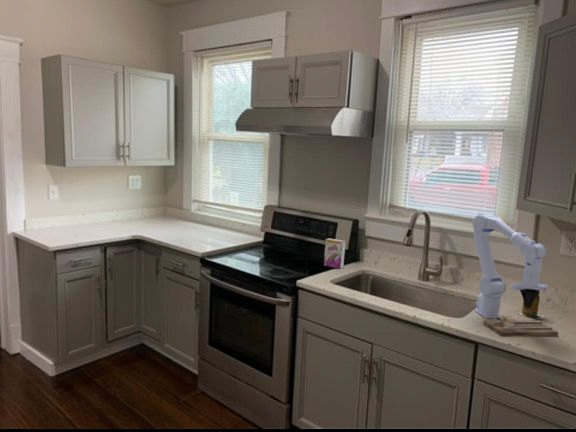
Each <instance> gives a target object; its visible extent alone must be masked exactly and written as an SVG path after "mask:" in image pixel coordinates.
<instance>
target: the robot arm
mask: <svg viewBox="0 0 576 432" xmlns="http://www.w3.org/2000/svg"><path fill="white" fill-rule="evenodd" d="M471 224H472V226H473V239H474V243H475V248H476V251H477V255H478V259H479V263H480V267H481V273H482V275H481V276H480V277H479V284H480V285H479V291H480V292H481V293H480V294H479V295H478V296H477V303H476V309H474V311H475V312H476V313H478V314H479V315H481V316H482V317H483V318H486V319H501V315H502V314H500V311H501V310H500V309H501V300H502V297H503V294H505V292H506V291H507V284H506V283H505V281H504V280H503V276H502V275H501V274H499V273H498V272H497V269H496V264H495V259H494V258H493V254H492V253H493V252H492V249H491V246H490V245H491V244H490V241H489V236H490V235H491V234H492V233H493V232H494V231H495V230H497V231H498V232H499V233H501V234H503V235H504V236H505V237H507V238H509V239H510V243H511V244H512V245H513V246H514V247H516V249H518V250H520V251H521V252H522V253H523V256H524V267H523V275H522V276H523V277H522V282H520V283H512V284H511V288H510V289H512V290H514V291H517V290H519V292H520V294H521V297H522V299H523V301H524V307H526V308H531V306H532V304H533V302H534V300H535V298H536V297H537V296H538V295H539V296H540V292H539V291H546V292H547V291H549V287H550V286H549V285H548V284H543V283H540V279H541V273H542V271H541V270H542V264H543V259H544V258H545V257H546V256H547V254H548V251H547V248H546V246H544V244H543V243H536V240H534V239H533V240H532V239H531V238H529V237H528V236H527V234H526V233H525V232H517V231H515V229H513V228H512V227H510V226H509V225H508V224H507V223H505V221H503V220H502V218H501V217H499V216H498V215H497V214H495V213H494V214H477V215H476V216H475V217H474V218H473V220H472V221H471ZM537 290H539V291H537Z"/></svg>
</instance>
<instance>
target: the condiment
mask: <svg viewBox="0 0 576 432" xmlns="http://www.w3.org/2000/svg"><path fill="white" fill-rule="evenodd" d="M537 291H539V293H540V291H541V290H537ZM539 303H540V294H539V295H538V296H537V297H536V298H535V300H534V302H533V304H532V306H531V308H526V307H524V301H523V302H522V306H521V307H522V308H521V312H520V313H519V315H520V316H523V317H527V318H532V319H535V320H542V319H543V318H544V317H545V315H542V314H538V312H539V305H540V304H539Z"/></svg>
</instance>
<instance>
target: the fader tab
mask: <svg viewBox="0 0 576 432" xmlns="http://www.w3.org/2000/svg"><path fill="white" fill-rule="evenodd" d="M500 315H501V318H500V320H499V321H500V324H501V325H503V326H504V327H514V323H515V321H516V319H515V318H514V317H512V316H510V315H509V314H500Z"/></svg>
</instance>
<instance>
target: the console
mask: <svg viewBox="0 0 576 432" xmlns="http://www.w3.org/2000/svg"><path fill="white" fill-rule="evenodd" d="M483 325H484V326H486V327H487V328H489V329H490V330H491V331H493V332H494V333H496V334H497V335H498V336H501V337H546V336H547V337H553V336H554V337H558V335H559V332H558V331H556V330H555V329H553V327H552V326H547V325H546V324H544V323H543V322H542V321H540V320H515V323H514V327H504V326H503V325H501V324H500V320H483Z"/></svg>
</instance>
